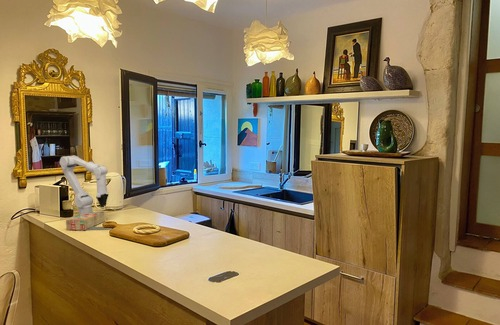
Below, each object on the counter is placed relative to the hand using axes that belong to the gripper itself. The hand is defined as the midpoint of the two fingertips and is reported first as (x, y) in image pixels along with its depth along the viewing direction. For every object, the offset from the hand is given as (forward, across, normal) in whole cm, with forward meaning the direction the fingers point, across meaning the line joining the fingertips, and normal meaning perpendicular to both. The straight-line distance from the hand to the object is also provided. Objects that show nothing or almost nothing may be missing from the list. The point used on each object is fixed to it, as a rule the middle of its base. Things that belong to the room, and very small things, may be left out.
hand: (103, 206), depth 233 cm
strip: (+10, -14, +1) cm, 18 cm away
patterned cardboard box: (+7, -8, +2) cm, 11 cm away
